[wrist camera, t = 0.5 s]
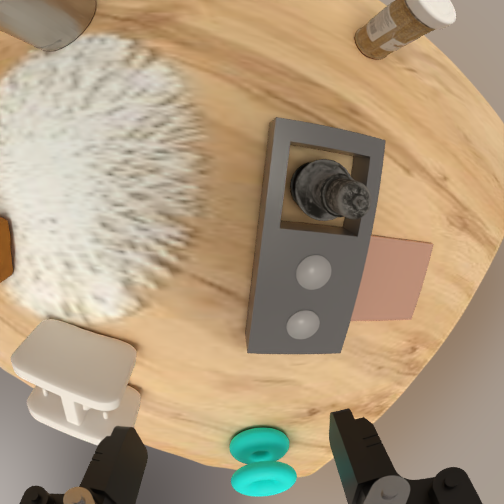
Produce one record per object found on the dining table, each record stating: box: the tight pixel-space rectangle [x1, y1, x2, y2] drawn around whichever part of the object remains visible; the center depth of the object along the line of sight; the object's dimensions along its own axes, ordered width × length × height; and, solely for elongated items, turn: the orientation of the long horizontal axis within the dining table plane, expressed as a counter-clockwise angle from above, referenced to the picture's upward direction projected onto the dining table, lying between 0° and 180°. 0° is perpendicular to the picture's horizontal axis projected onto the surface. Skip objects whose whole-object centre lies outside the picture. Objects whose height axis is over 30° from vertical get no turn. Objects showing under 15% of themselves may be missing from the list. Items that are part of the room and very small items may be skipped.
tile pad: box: [350, 235, 433, 321], centre depth 34 cm, size 11×11×1 cm
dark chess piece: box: [290, 159, 371, 221], centre depth 24 cm, size 6×6×12 cm
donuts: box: [230, 428, 297, 496], centre depth 37 cm, size 10×10×10 cm
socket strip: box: [245, 117, 385, 354], centre depth 29 cm, size 24×11×4 cm, turn 174°
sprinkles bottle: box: [355, 0, 456, 59], centre depth 18 cm, size 5×5×14 cm
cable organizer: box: [11, 319, 141, 445], centre depth 29 cm, size 15×11×12 cm
